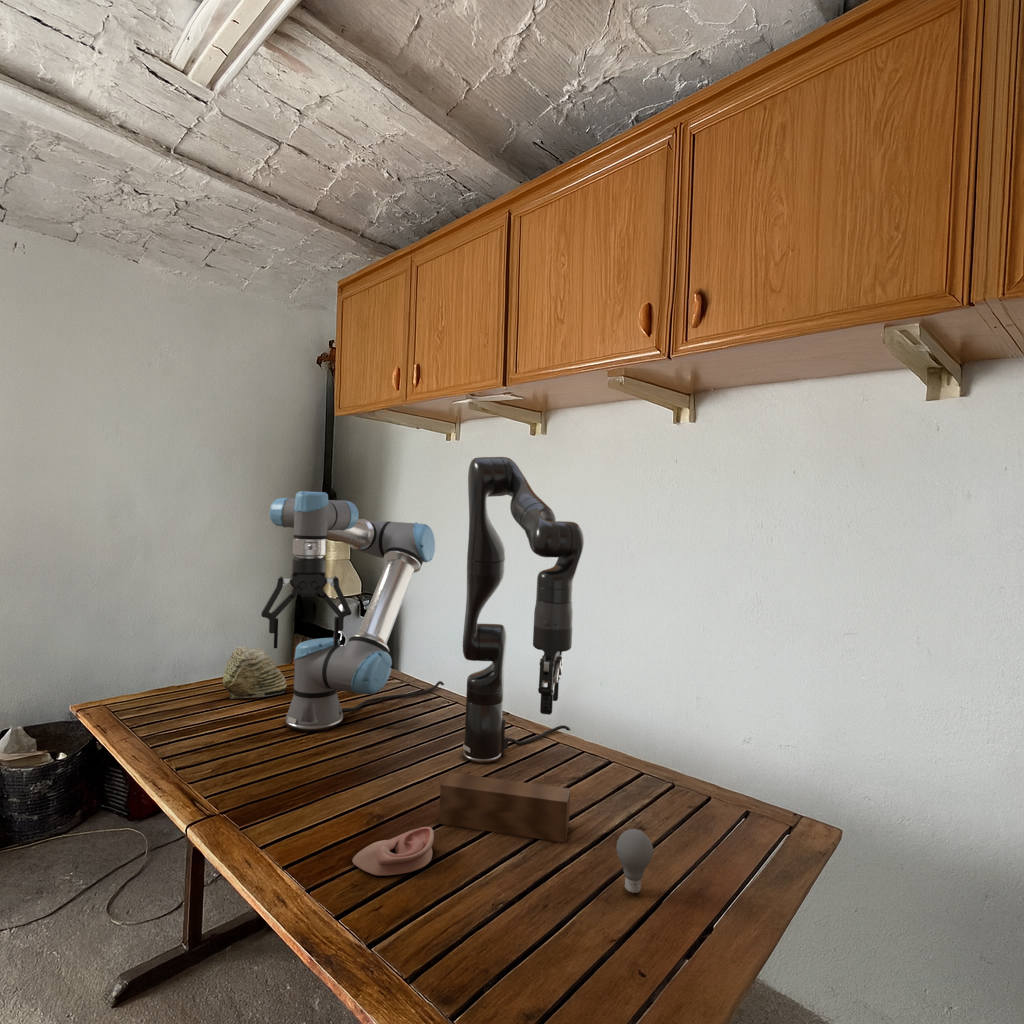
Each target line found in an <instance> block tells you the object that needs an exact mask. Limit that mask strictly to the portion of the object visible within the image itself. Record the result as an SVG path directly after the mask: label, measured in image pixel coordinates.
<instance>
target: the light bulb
mask: <svg viewBox="0 0 1024 1024" xmlns="http://www.w3.org/2000/svg"><path fill="white" fill-rule="evenodd" d="M615 849H616V854H617V857H618V859H619V861H620V863H621V865H622V867H623V873H624V874H623V875H624V876H625V878H624V888H625V890H627V891H628V892H630V893H634V894H635V893H639V892H640V891H641V889H642V887H641V886H642V879H643V877H644V875H645V871H646V868H647V867H648V866H649V864H650V863H651V861H652V859H653V855H654V847H653V843H652V841H651V838H649V836H648V835H647V834H646V833H645V832H643V831H642V830H641V829H636V828H629V829H627V830H625V831H623V832H622V833H621V834H620V835H619V837H618V839H617V841H616V847H615Z"/></svg>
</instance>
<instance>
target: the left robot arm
mask: <svg viewBox="0 0 1024 1024" xmlns="http://www.w3.org/2000/svg"><path fill="white" fill-rule="evenodd" d="M294 497H295V498H293V497H279V498H275V500H273V502H272V503H271V505H270V508H269V518H270V521H271V523H272V524H273V525H274V526H276V527H281V528H285V529H286V528H292V529H293V538H292V555H293V556H294V557H293V558H292V561H291V564H292V566H291V575H290V577H283V576H278V577H277V581H276V586H275V588H274V590H273V591H272V593H271V595H270V596H269V598H268V600H267V601H266V604H265V605H264V607H263V609H262V611H261V618H265V619H267V620H268V624H269V625H268V633H269V634H273V649H278V644H279V643H278V639H279V618H278V616H279V615H280V614H281V613H282V612H283V611H284V610H285V608H286V607H287V606H288V605H289V604H290V603H291V602H292V601H293V600H294V599H295V598H296V597H297V596H300V597H307V596H309V597H316V596H318V595H319V596H320V597H321V598H322V600H323V601H325V603H326V604H327V605H328V606H329V608H330V609H331V610H332V611H333V612H334V613H335V614H336V615H337V616H334V619H333V637H321V638H313V639H307V640H304V641H302V642H299V643H298V644H297V645H296V647H295V652H294V653H295V654H294V658H293V660H294V670H293V671H294V672H293V695H292V696H293V697H292V699H291V702H290V704H289V708H288V711H287V713H286V715H285V726H286V728H287V729H289V730H291V731H294V732H295V731H296V732H301V733H316V732H325V731H329V730H332V729H335V728H337V727H339V726H340V725H342V723H343V722H344V714H343V712H345V713H346V712H354V711H357V710H359V709H360V708H361V707H362V706H365V705H366V704H369V703H372V702H376V701H383V700H389V699H398V698H407V697H415V696H418V695H422V694H427V693H429V692H432V691H434V690H436V689H437V688H438V687H439V686H440V685H441V686H445V683H444V682H443V681H442V680H439V681H438V682H436V684H435V685H433V686H432V687H430V688H427V689H424V690H420V691H415V692H409V693H400V694H399V693H398V694H392V695H383V696H378V697H377V696H376V697H373V698H368V699H366V700H363V701H361V702H360V703H359V704H358V705H355V706H353V707H346V708H342V706H341V702H340V699H339V695H338V691H341V692H347V693H353V694H356V695H367V696H368V695H375V694H376V693H378V692H380V691H381V690H382V689H383V688H384V687H385V685H386V684H387V682H388V681H389V678H390V676H391V673H392V665H393V660H392V657H391V654H389V653H390V648H389V646H388V641H389V638H390V636H391V634H392V631H393V629H394V625H395V623H396V620H397V617H398V615H399V612H400V609H401V607H402V604H403V602H404V599H405V597H406V593H407V591H408V589H409V585H410V584H411V581H412V578H413V575H414V574H415V573H418V572H419V571H420V570H421V568H422V566H423V563H428V562H429V563H430V562H431V561H432V560H433V558H434V555H435V551H436V541H435V539H436V538H435V535H434V532H433V530H432V527H430V525H428V524H426V523H418V522H401V521H389V520H388V521H387V520H382V521H381V520H367V519H365V518H359V515H360V514H359V510H358V507H357V506H356V505H355V503H353V502H352V501H348V500H345V499H342V500H341V499H338V500H336V499H335V500H334V499H329V494H328V493H327V492H324V491H302V490H301V491H297V492H296V493H295V496H294ZM327 539H331V540H334V541H337V542H340V543H344V544H347V545H348V546H349V547H350V548H351V549H353V550H355V551H359V552H361V553H365V554H367V555H370V556H372V557H377V558H380V559H383V560H384V562H385V566H384V568H383V569H382V573H381V575H380V577H379V579H378V582H377V584H376V587H375V589H374V592H373V594H372V597H371V599H370V602H369V604H368V606H367V609H366V612H365V614H364V616H363V618H362V621H361V623H360V627H359V629H358V631H357V633H356V634H354V635H351V636H349V638H348V641H347V643H346V645H345V646H343V645H340V644H341V642H340V640H339V632H343V630H344V619H345V618H346V617H348V616H351V615H352V610H351V608H350V605H349V604H348V602H347V599H346V597H345V595H344V593H343V591H342V589H341V587H340V580H339V579H340V578H339V577H338V576H336V575H334V576H333V577H327V576H326V567H327V566H326V565H327V564H326V562H327V559H326V558H325V557H324V556H327ZM288 584H290V586H291V587H292V589H291V591H289V592H288V594H287V595H286V596H285V597H284V599H282V601H280V603H279V604H278V605H277V606H276V607H275V608H274V609H273V611H272V612H270V610H271V609H272V607H273V606H274V604H275V602H276V600H278V599H277V598H278V597H279V595H280V593H281V592H282V590H283V588H284V587H286V586H287V585H288ZM327 584H329V585H330V587H333V589H334V591H335V593H336V596H337V598H338V600H339V602H340V604H341V606H342V608H343V610H341V609H340V608H339V607H338V606H337V604H336V602H334V601H333V599H332V598H330V596H329V595H328V594H327V592H325V590H324V587H326V585H327Z"/></svg>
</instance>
